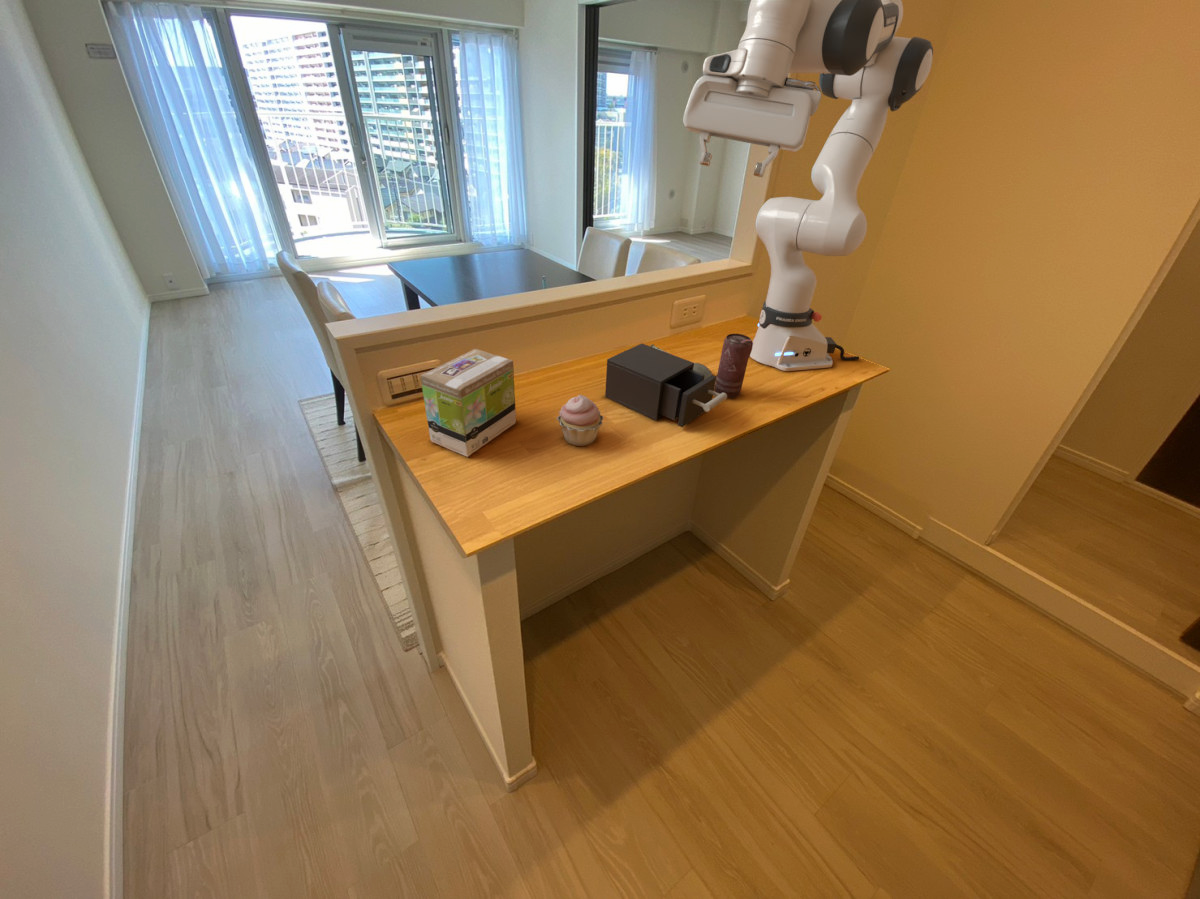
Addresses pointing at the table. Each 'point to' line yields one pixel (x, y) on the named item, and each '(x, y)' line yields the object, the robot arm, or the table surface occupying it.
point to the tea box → (469, 400)
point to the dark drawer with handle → (689, 396)
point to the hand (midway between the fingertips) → (730, 170)
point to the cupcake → (580, 421)
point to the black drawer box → (642, 378)
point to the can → (733, 364)
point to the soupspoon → (696, 367)
